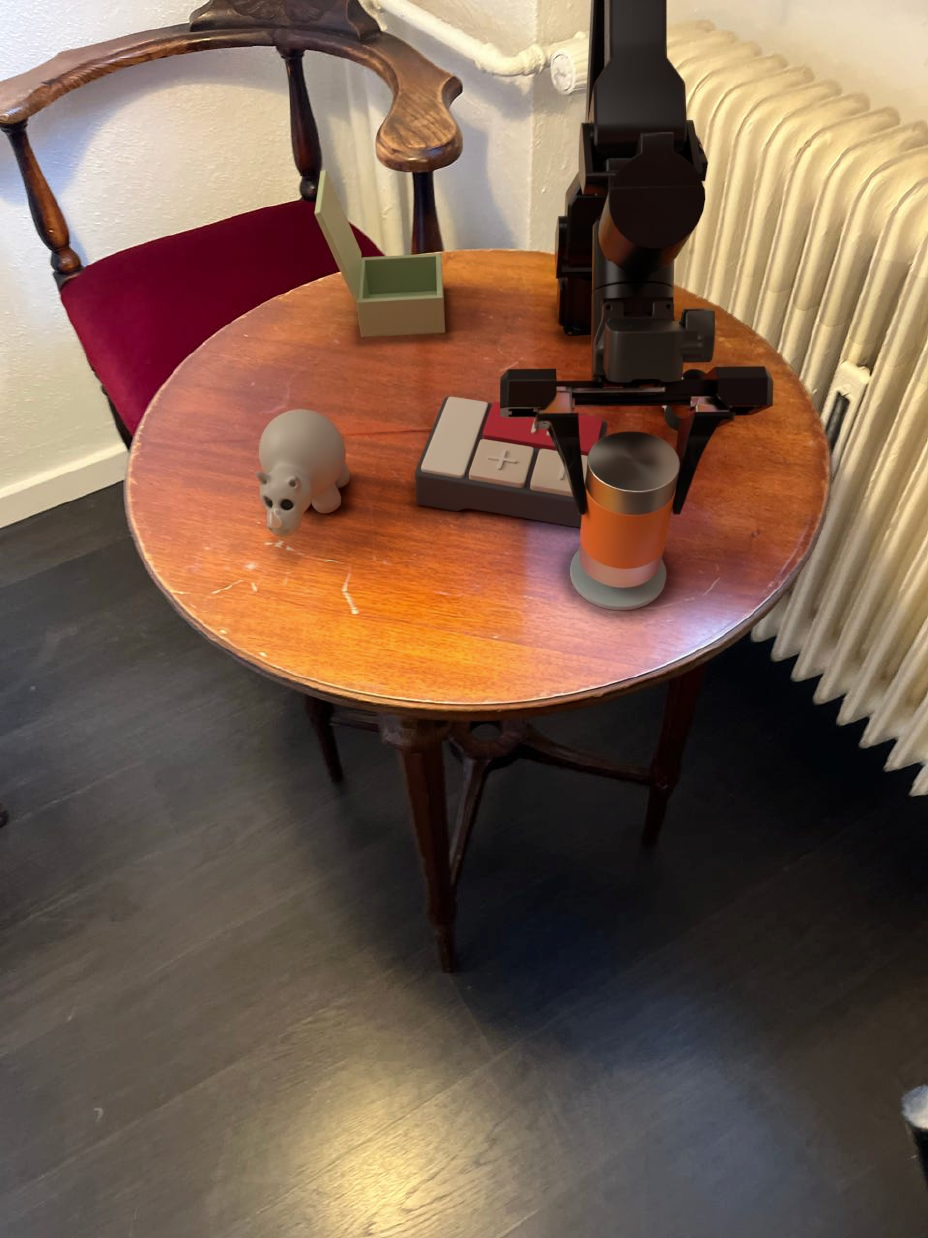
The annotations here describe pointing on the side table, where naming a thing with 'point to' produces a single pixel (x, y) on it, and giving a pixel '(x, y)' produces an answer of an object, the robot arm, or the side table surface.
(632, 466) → the can
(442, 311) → the box
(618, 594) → the coaster
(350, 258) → the box lid
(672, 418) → the watch
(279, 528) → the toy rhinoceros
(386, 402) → the side table surface
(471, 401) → the button control panel
